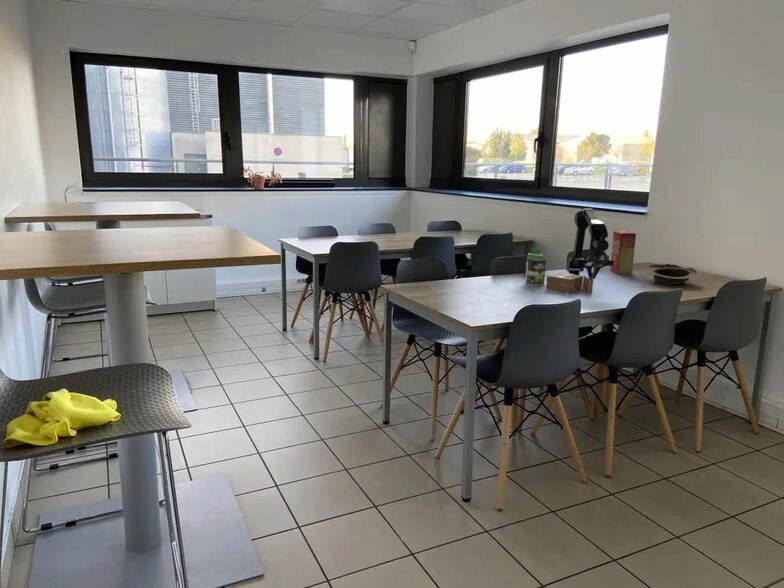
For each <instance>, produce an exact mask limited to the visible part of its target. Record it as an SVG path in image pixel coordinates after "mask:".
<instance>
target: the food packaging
mask: <svg viewBox="0 0 784 588" xmlns="http://www.w3.org/2000/svg"><path fill="white" fill-rule="evenodd" d="M636 236H637V233H636V232H632V231H629V230H613V235H612V249H611V258H610V259H612V260H613V261H614V266H609V271H610V270H611V271H610V272H612V271H613V272H612V273H614V272H615V273H614V274H616V273H617V274H616V275H618V274H632V275H633V266H634V257H635V247H636V246H635V245H636V238H637V237H636Z"/></svg>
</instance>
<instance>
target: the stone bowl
mask: <svg viewBox="0 0 784 588" xmlns="http://www.w3.org/2000/svg"><path fill="white" fill-rule="evenodd" d="M647 271H648V272H649V273H650V274H652V275H653V280H654V282H657V283H658V284H661V285H667V286H675V285H681V284H683V283H686V282H687V281H689V279H690V278H694V277H695V276H696V274H697V271H696V269H695V268H692V267H688V268H687V267H682V266H679V265H675V264H669V263H666V264H651V265H649V266H648V269H647Z"/></svg>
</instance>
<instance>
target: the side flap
mask: <svg viewBox="0 0 784 588" xmlns="http://www.w3.org/2000/svg"><path fill="white" fill-rule="evenodd" d="M593 272H594V271H592V273H591V279H589V276H588V277H587V276H586V275H583V281H582V290H583V291H584V292H585V293H587V294H588V295H590V296H592V295H593V287H594V286H593V285H594V279H593V278H594V273H593Z"/></svg>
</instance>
